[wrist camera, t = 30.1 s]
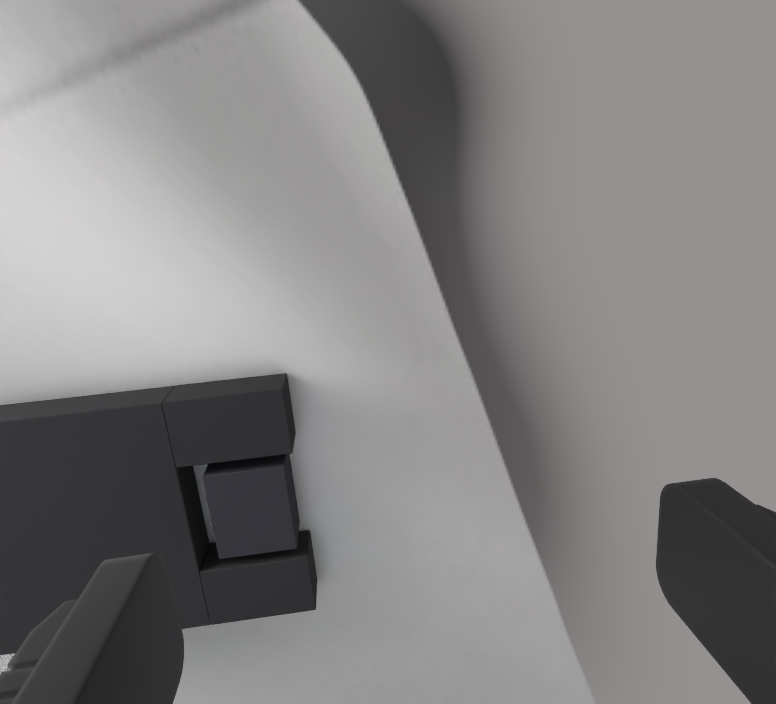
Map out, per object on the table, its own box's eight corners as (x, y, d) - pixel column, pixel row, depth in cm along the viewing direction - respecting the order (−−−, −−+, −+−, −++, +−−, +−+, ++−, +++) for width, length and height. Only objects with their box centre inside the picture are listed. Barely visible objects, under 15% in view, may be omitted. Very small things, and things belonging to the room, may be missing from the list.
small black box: (288, 444, 36) (284, 466, 33) (299, 522, 37) (297, 549, 35) (212, 454, 35) (201, 476, 33) (227, 531, 37) (219, 559, 34)
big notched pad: (286, 373, 34) (282, 389, 32) (317, 579, 39) (315, 610, 36) (-107, 417, 33) (-150, 438, 30) (-28, 628, 37) (-58, 664, 34)
